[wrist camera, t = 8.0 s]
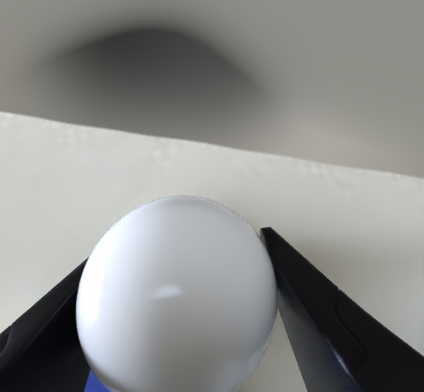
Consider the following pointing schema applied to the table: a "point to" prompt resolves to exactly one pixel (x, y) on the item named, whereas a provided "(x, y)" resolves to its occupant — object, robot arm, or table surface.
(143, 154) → the table surface
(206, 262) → the lightbulb
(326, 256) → the table surface
